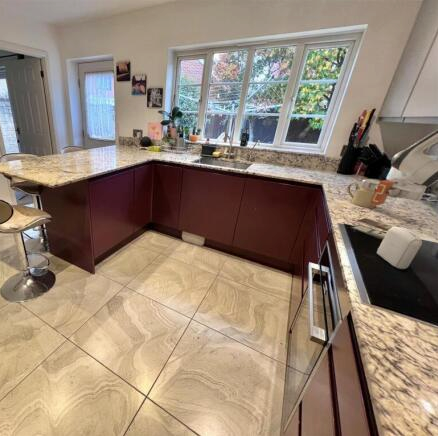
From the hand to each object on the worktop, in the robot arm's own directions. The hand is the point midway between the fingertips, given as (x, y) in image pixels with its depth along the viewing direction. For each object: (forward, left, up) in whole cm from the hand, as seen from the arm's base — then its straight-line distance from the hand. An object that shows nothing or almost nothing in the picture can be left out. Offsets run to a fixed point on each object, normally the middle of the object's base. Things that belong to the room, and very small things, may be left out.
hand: (382, 190), depth 100 cm
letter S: (0, -1, -6) cm, 6 cm away
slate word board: (-8, +5, -18) cm, 20 cm away
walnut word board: (-5, -7, -18) cm, 20 cm away
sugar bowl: (+18, -37, -18) cm, 45 cm away
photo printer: (-19, +24, -18) cm, 35 cm away
